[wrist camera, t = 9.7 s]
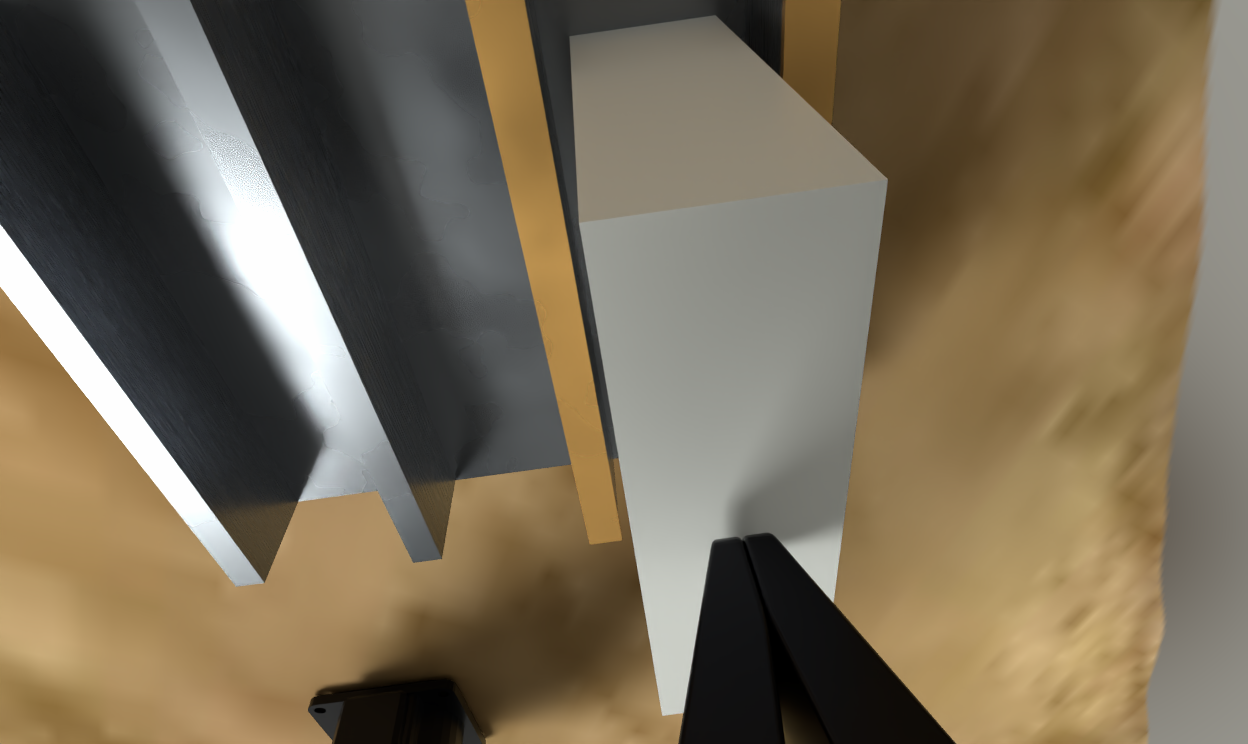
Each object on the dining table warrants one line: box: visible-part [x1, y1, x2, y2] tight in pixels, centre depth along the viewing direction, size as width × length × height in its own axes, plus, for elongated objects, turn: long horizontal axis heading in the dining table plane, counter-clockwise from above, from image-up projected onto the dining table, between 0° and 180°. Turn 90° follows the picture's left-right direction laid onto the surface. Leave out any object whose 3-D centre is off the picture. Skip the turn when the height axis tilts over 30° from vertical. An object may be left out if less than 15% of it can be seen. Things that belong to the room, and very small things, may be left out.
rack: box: [0, 0, 841, 587], centre depth 16 cm, size 14×16×4 cm
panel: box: [569, 15, 888, 716], centre depth 13 cm, size 10×3×9 cm, turn 7°
